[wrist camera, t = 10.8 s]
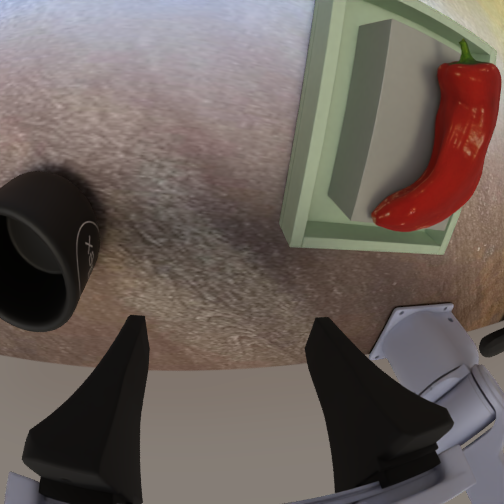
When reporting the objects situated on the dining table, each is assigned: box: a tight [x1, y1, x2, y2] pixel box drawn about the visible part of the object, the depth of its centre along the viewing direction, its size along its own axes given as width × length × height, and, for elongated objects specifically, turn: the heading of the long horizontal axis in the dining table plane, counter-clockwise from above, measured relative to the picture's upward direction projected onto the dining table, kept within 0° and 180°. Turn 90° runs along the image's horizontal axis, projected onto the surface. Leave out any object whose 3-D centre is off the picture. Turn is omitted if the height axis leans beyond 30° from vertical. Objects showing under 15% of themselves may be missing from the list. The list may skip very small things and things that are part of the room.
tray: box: [279, 0, 497, 255], centre depth 17 cm, size 14×18×3 cm
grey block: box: [328, 19, 461, 231], centre depth 16 cm, size 8×12×4 cm, turn 173°
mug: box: [0, 171, 100, 332], centre depth 16 cm, size 12×9×7 cm
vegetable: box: [371, 38, 501, 232], centre depth 13 cm, size 4×5×12 cm
